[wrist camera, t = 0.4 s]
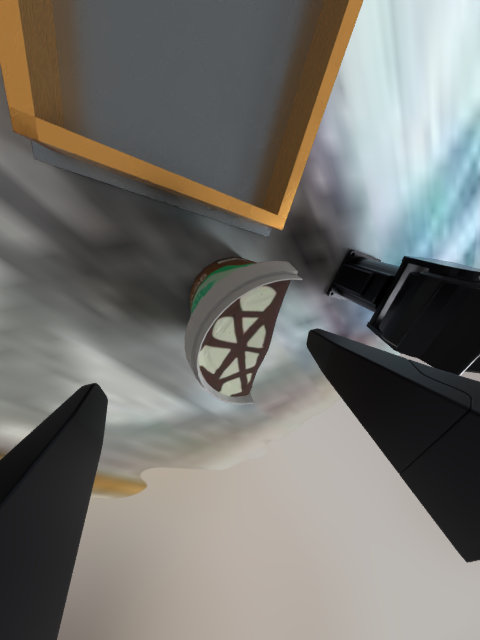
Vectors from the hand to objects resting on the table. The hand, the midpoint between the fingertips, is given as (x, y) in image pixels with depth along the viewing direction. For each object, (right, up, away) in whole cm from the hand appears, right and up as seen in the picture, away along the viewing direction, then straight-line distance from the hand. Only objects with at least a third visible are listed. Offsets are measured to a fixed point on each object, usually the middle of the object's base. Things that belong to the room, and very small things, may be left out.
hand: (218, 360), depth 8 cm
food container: (-3, +5, +12) cm, 14 cm away
